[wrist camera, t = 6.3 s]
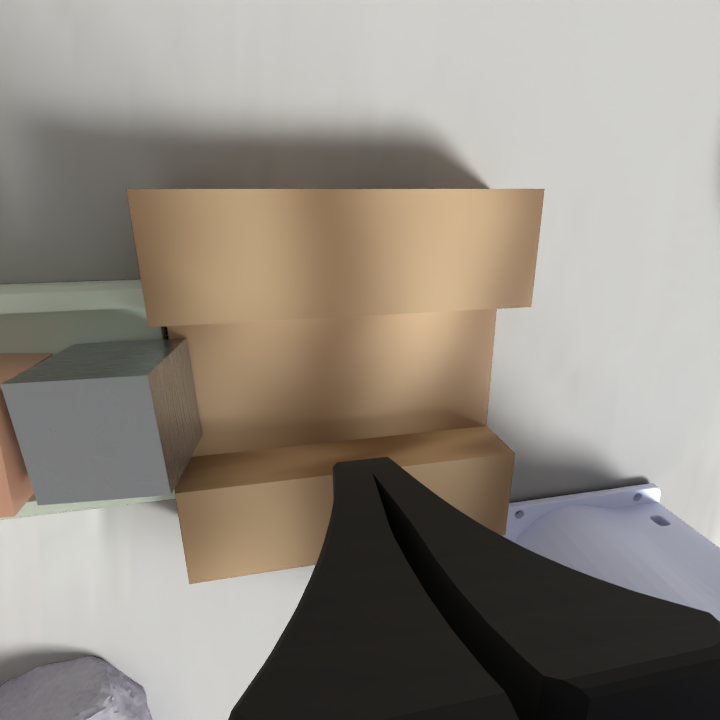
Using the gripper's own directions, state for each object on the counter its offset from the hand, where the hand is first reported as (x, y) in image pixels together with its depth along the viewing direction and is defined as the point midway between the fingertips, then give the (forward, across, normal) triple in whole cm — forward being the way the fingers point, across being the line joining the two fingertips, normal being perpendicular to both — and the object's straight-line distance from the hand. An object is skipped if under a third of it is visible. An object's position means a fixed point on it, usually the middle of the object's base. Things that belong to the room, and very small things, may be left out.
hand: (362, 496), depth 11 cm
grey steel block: (+8, +7, 0) cm, 11 cm away
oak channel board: (+9, -1, 0) cm, 9 cm away
